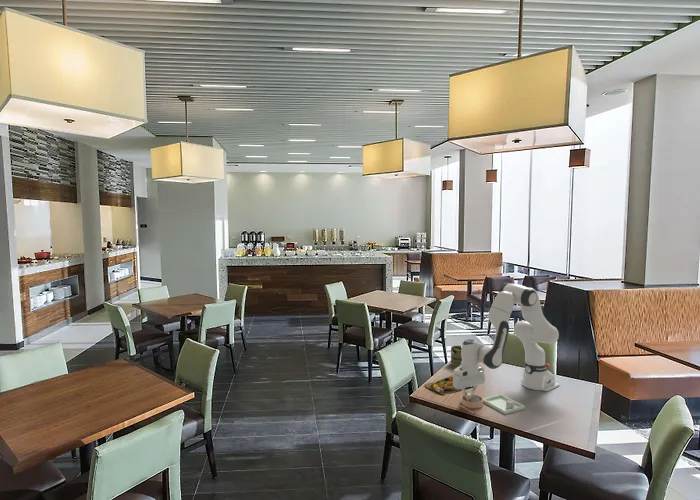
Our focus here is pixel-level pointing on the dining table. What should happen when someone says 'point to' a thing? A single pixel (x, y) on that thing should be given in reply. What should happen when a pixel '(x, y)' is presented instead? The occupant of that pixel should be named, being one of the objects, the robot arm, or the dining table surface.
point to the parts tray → (502, 403)
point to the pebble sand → (468, 397)
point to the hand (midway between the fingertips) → (469, 393)
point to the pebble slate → (475, 399)
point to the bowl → (472, 404)
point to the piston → (456, 356)
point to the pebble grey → (509, 404)
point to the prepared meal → (446, 384)
